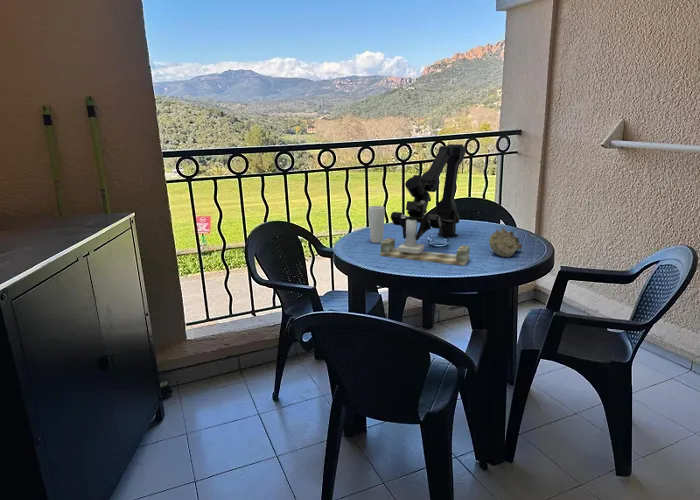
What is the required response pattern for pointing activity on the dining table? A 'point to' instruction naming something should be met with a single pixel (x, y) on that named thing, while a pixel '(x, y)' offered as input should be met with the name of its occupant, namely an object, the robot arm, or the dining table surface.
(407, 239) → the carriage
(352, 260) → the dining table surface
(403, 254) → the wooden slide rail
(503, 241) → the seashell
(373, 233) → the drinking glass
